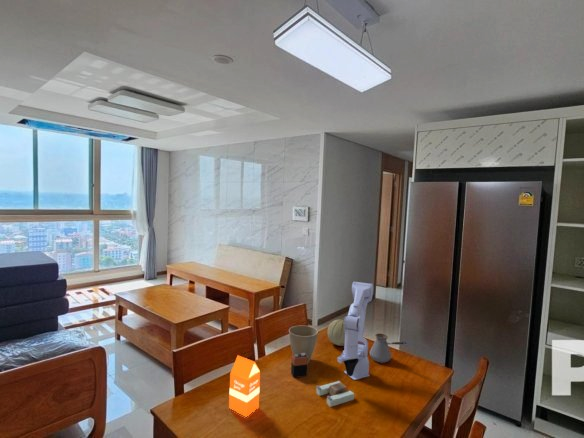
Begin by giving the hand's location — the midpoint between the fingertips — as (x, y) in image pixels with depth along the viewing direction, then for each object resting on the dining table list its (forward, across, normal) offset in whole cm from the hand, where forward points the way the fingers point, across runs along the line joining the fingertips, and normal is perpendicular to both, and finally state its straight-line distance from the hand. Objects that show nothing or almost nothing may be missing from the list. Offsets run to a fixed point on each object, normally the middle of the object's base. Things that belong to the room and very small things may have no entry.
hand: (349, 374), depth 137 cm
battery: (+8, +9, -23) cm, 26 cm away
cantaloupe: (+8, -32, -35) cm, 48 cm away
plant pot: (+8, -1, -32) cm, 33 cm away
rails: (+8, +7, -1) cm, 11 cm away
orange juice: (+8, +43, -16) cm, 46 cm away
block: (+8, +6, -1) cm, 10 cm away
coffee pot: (+8, -37, -6) cm, 38 cm away
